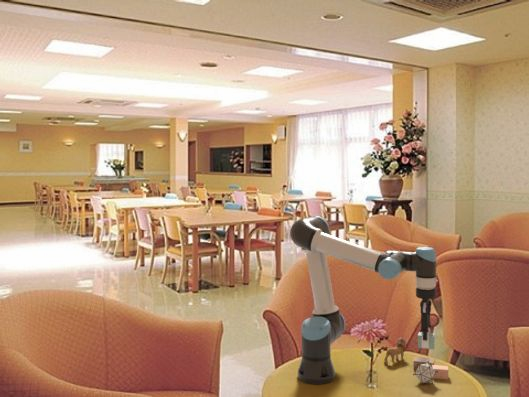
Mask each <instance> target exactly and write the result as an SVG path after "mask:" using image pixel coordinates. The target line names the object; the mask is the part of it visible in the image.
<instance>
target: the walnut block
mask: <svg viewBox="0 0 529 397" xmlns="http://www.w3.org/2000/svg"><path fill="white" fill-rule="evenodd" d="M428 361H429V364H430V366H431V367H432V365H435V358H429V357H421V356H414V358H413V370H414V371H416V370H417V367H418V363H419V364H425V363H428Z"/></svg>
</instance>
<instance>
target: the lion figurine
mask: <svg viewBox="0 0 529 397" xmlns="http://www.w3.org/2000/svg"><path fill="white" fill-rule="evenodd" d="M395 342H396V345H395V346H394V347H389V348H387V350H386V354H385V357H384V359H383V360H384V361H383V364H385V365H386V366H388V365H389V362H388V358H389V357H390V359H391V362H392V364H393V365H396V364H397V362H395V360H398V359H399V355H400V360H401V361H405V358H404V353H405V352H406V349H407V346H406V344H407V343H406V340H405V339H404V338H403V337H398V338H397V339H396V341H395Z"/></svg>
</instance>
